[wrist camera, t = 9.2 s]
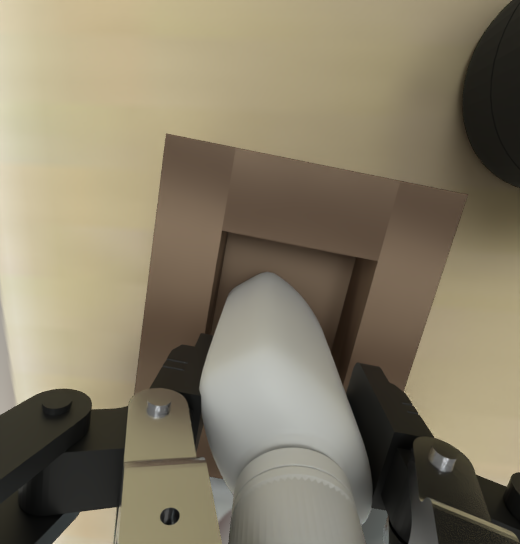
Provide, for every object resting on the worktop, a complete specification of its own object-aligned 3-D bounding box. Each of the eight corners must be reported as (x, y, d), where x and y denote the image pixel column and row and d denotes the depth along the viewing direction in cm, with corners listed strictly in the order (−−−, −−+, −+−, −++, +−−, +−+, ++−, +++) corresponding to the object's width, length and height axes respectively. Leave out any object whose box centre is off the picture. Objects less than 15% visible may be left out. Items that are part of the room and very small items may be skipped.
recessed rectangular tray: (190, 145, 17) (166, 133, 13) (421, 192, 17) (467, 194, 13) (153, 407, 20) (125, 461, 16) (347, 442, 20) (366, 504, 16)
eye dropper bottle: (232, 387, 17) (147, 870, 5) (227, 269, 15) (95, 546, 4) (327, 387, 16) (472, 879, 5) (331, 267, 15) (543, 548, 3)
